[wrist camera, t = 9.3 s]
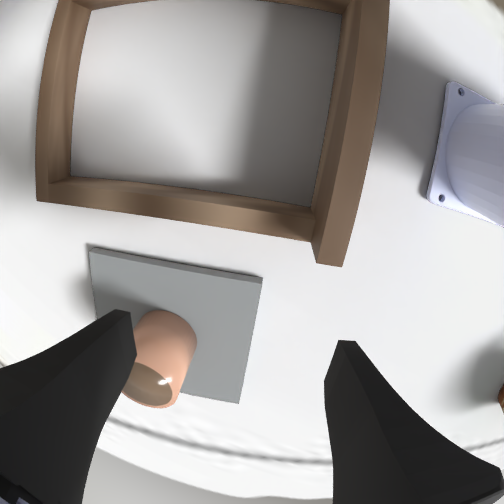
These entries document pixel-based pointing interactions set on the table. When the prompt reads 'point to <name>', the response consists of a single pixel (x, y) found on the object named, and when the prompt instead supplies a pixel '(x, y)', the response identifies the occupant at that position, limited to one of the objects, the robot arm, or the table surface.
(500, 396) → the food container
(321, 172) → the frame
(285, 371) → the table surface
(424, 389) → the table surface
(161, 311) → the clay pot
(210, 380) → the potting mat
